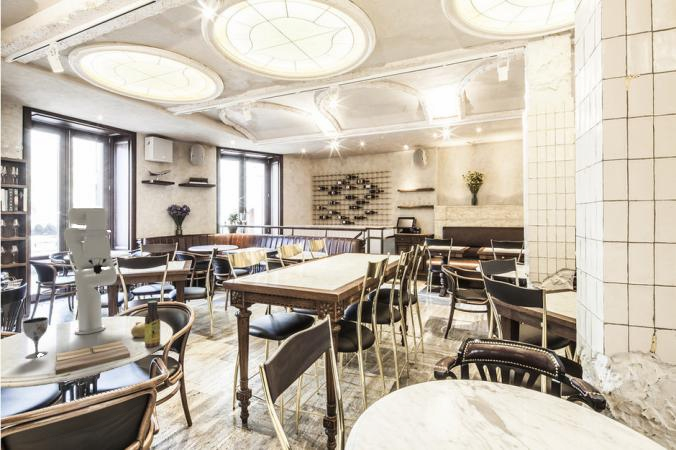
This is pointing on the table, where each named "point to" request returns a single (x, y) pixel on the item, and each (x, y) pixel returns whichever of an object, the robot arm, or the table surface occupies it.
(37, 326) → the wine glass
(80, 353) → the oak plank
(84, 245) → the robot arm
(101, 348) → the oak plank
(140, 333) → the onion
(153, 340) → the sauce bottle
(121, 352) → the walnut board
